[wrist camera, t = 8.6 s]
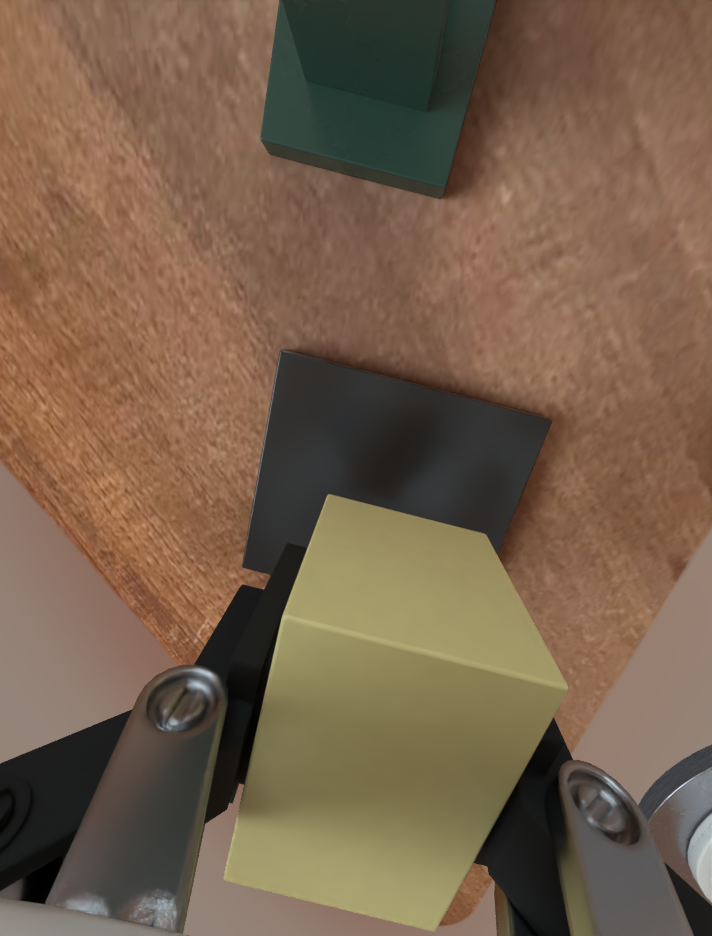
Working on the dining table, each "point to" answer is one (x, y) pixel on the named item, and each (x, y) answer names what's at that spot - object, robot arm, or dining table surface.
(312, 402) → the board
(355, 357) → the dining table surface
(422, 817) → the butter
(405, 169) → the green lever stand
